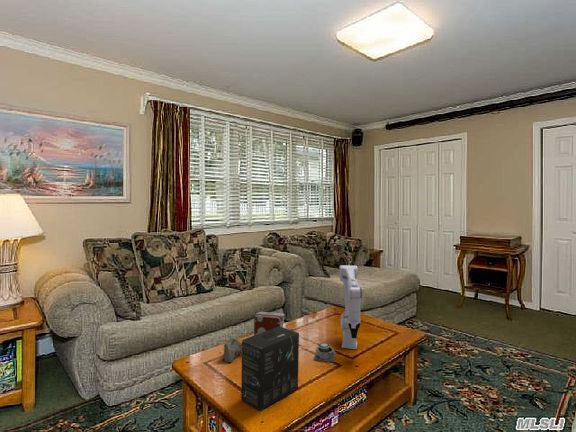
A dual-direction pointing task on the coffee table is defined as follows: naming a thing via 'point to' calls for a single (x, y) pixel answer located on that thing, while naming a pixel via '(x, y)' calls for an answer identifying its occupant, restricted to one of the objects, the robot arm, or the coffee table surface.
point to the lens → (324, 347)
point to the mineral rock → (231, 350)
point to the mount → (325, 355)
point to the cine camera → (267, 321)
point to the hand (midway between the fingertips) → (354, 337)
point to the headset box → (269, 366)
